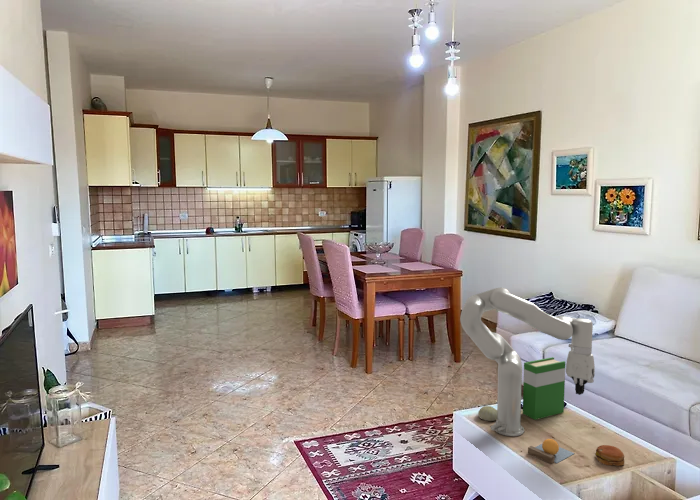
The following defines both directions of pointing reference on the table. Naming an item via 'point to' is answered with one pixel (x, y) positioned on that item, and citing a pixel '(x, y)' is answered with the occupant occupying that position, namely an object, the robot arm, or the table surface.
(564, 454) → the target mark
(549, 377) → the hardback book
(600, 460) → the burger
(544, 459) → the stopper wall
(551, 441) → the ball
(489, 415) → the sea urchin shell
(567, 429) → the table surface
